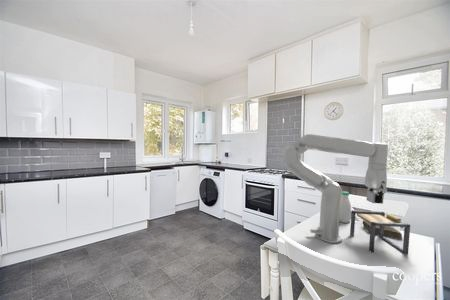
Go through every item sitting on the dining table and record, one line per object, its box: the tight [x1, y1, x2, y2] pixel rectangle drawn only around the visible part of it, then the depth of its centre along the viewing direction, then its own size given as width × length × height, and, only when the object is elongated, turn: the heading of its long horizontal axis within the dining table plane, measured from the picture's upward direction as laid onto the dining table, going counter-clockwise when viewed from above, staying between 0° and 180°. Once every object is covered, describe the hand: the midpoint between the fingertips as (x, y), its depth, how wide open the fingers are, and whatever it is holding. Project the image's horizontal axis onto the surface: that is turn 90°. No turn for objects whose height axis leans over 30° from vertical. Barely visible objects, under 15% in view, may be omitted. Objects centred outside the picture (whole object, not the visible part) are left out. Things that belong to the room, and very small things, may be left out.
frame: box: [349, 209, 411, 255], centre depth 104 cm, size 17×17×14 cm
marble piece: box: [362, 220, 403, 240], centre depth 120 cm, size 17×15×4 cm
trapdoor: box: [356, 213, 402, 224], centre depth 104 cm, size 16×13×3 cm
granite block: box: [366, 190, 385, 204], centre depth 103 cm, size 5×5×5 cm
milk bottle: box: [339, 190, 352, 224], centre depth 134 cm, size 8×8×20 cm
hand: (374, 200), depth 103 cm, fingers closed on granite block, 5 cm apart
